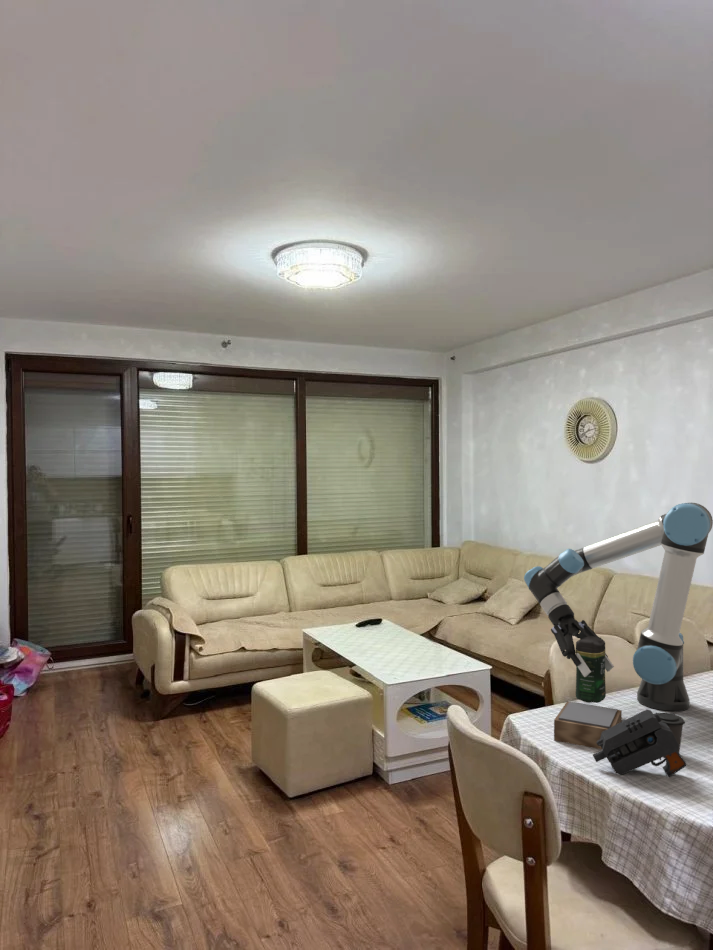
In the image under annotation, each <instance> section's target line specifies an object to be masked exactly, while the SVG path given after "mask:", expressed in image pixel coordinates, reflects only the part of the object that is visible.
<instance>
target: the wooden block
mask: <svg viewBox="0 0 713 950" xmlns="http://www.w3.org/2000/svg"><path fill="white" fill-rule="evenodd" d="M622 711H623V710H620V709H617V708H613V707H612V708H611V707H606V706H600V705H599V706H598V705H595V704H594V705H593V704H590V703H589V704H587V703H582V702H581V703H580V702H577V701H566V702H565V704H564V705H563V707H562V708H561V709H560V711H559V712H558V714H557V716H556V717H555V718H554V720H553V741H556V742H561V743H565V744H570V745H571V744H572V745H576V746H582V747H586V748H587V747H588V748H593V749H596V750H600V751H602V748H601V746H598V745H597V743H596V742H597V741H598V740H600V737H601V733H602V732H603V731H605V730H607V729H609V728H611V727H613V726H615V725H617V724H619V723H621V722H623V721H622V719H623V718H622V717H623V716H622V714H623V713H622Z"/></svg>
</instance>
